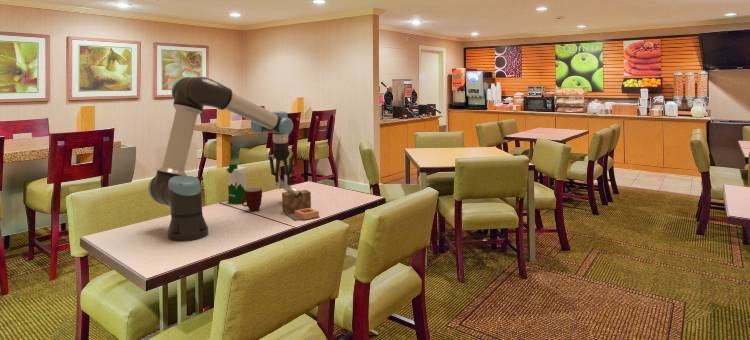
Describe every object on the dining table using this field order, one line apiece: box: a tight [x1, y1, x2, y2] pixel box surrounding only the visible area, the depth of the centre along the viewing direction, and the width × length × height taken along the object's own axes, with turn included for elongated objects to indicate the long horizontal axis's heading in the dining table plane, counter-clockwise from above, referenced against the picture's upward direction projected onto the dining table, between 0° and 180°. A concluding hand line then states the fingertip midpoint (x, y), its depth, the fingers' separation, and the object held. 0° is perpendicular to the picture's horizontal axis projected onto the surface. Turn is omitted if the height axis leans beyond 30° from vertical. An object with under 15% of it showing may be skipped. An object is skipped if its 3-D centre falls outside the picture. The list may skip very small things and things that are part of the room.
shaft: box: [275, 179, 300, 197], centre depth 233 cm, size 26×5×5 cm, turn 29°
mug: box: [241, 187, 263, 212], centre depth 226 cm, size 11×8×10 cm
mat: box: [286, 213, 321, 222], centre depth 217 cm, size 12×11×1 cm
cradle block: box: [281, 189, 312, 216], centre depth 223 cm, size 12×6×10 cm, turn 118°
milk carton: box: [225, 163, 248, 205], centre depth 241 cm, size 9×9×20 cm
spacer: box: [295, 207, 320, 221], centre depth 215 cm, size 8×2×8 cm
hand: (282, 187), depth 241 cm, fingers closed on shaft, 3 cm apart
